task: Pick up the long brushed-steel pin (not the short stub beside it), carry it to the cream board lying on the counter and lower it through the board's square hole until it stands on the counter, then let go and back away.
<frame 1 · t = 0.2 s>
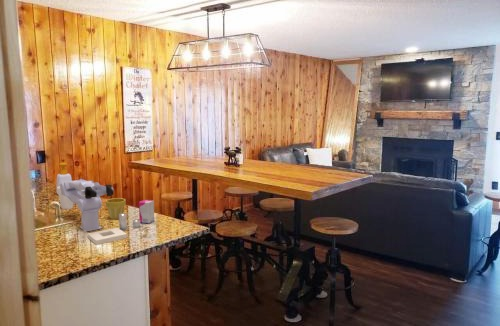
hand: (104, 193, 175), 21 cm above the counter, tool horizontal, fingers open, 7 cm apart
supplement box: (147, 222, 203), on the counter
soap bottle: (64, 193, 268), on the counter
short steel pin: (136, 226, 195), on the counter
long steel pin: (123, 229, 190), on the counter
foam cup: (67, 208, 230), on the counter
hole board: (107, 237, 178), on the counter
plant pot: (116, 217, 211), on the counter
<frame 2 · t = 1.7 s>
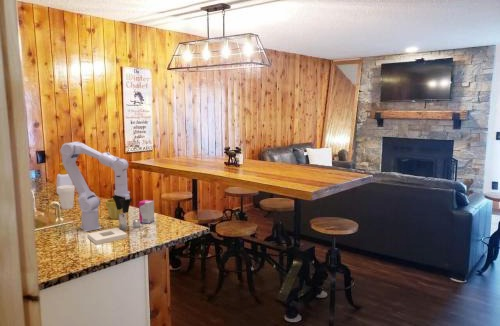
hand: (122, 211, 189), 9 cm above the counter, tool pointing down, fingers open, 7 cm apart
nothing on the counter moved.
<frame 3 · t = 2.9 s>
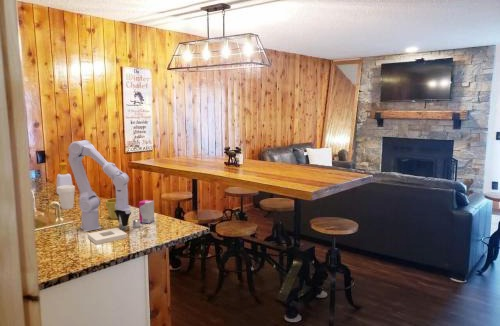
hand: (123, 224, 190), 2 cm above the counter, tool pointing down, fingers closed on long steel pin, 4 cm apart
long steel pin: (123, 229, 190), on the counter, touching gripper
everything else where it was.
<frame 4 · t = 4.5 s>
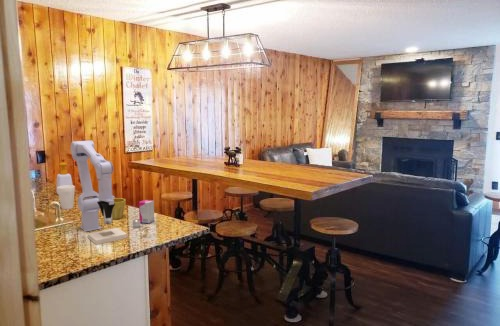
hand: (106, 217, 177), 10 cm above the counter, tool pointing down, fingers closed on long steel pin, 4 cm apart
long steel pin: (108, 223, 178), point 7 cm above the counter, touching gripper
everything else where it was.
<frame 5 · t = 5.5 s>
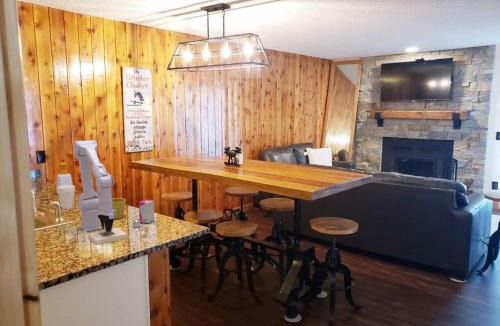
hand: (107, 230, 178), 4 cm above the counter, tool pointing down, fingers closed on long steel pin, 4 cm apart
long steel pin: (108, 236, 178), point 1 cm above the counter, touching gripper
everything else where it was.
when the fingers open (3 cm above the counter, at t = 6.0 s): long steel pin stays where it is, resting in hole board.
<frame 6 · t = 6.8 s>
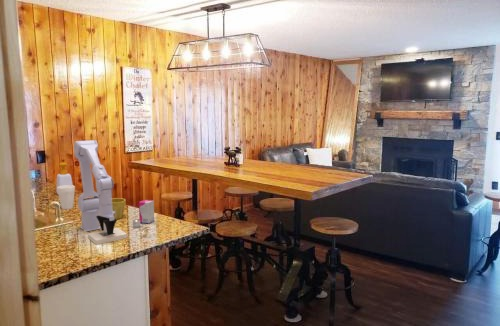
hand: (107, 232, 178), 3 cm above the counter, tool pointing down, fingers open, 7 cm apart
long steel pin: (108, 237, 178), resting in hole board
everything else where it was.
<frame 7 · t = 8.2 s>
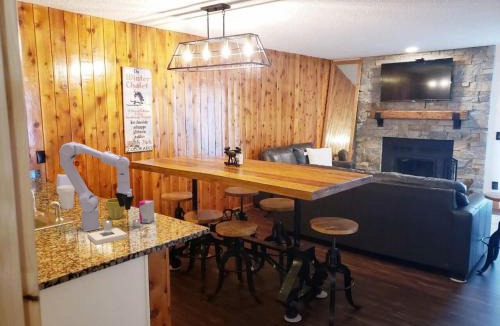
hand: (124, 208, 192), 10 cm above the counter, tool pointing down, fingers open, 7 cm apart
nothing on the counter moved.
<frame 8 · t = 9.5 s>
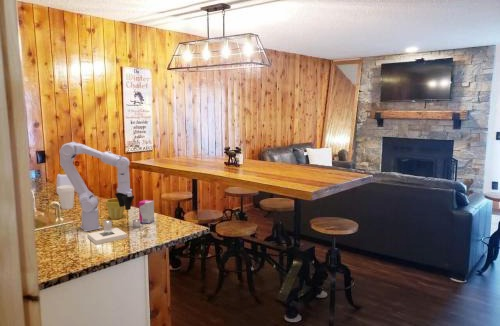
hand: (124, 208, 193), 10 cm above the counter, tool pointing down, fingers open, 7 cm apart
nothing on the counter moved.
at the end: long steel pin 0.5 cm off-centre on the hole board, point 0.0 cm above the hole board's base; long steel pin tilted 0°; the gripper is holding nothing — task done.
